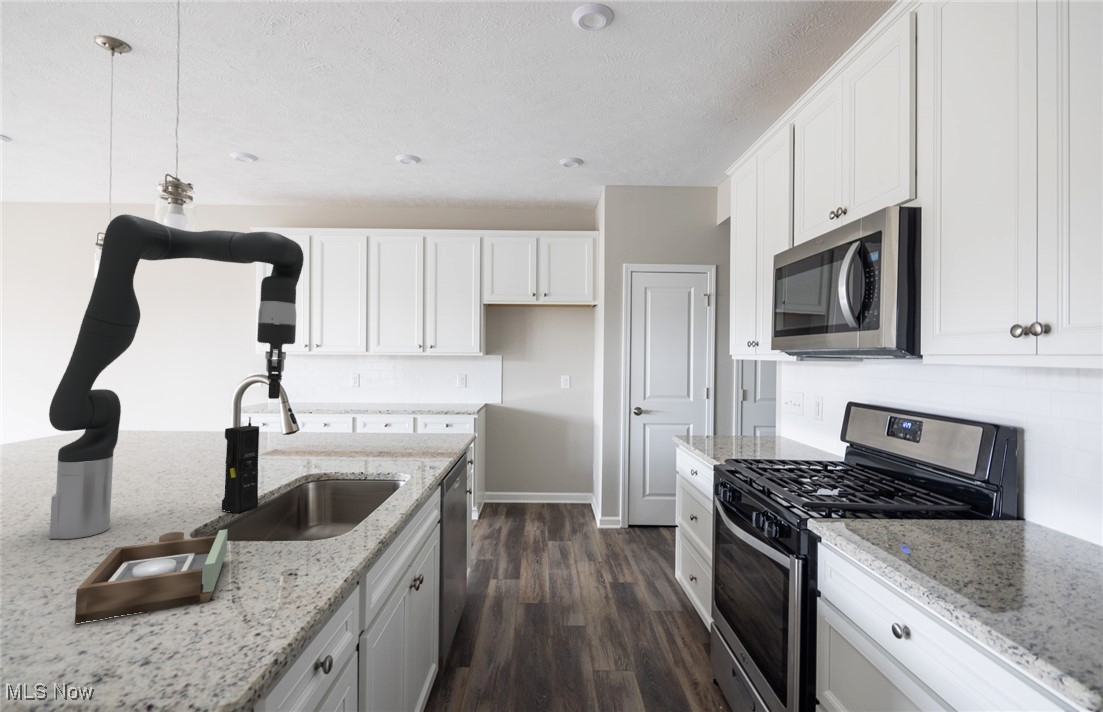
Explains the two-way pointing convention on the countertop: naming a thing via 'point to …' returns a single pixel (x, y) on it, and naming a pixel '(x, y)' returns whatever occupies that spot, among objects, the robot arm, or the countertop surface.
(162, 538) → the stand
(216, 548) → the tray
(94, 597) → the wooden drawer box
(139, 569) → the disc
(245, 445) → the portable radio
